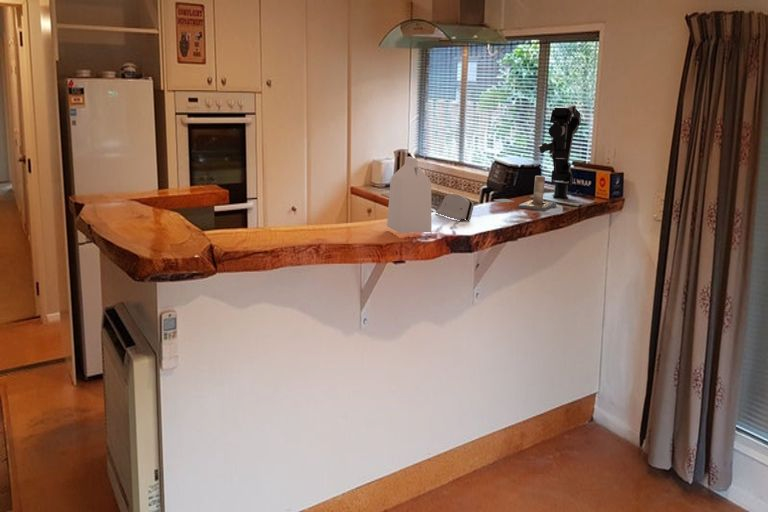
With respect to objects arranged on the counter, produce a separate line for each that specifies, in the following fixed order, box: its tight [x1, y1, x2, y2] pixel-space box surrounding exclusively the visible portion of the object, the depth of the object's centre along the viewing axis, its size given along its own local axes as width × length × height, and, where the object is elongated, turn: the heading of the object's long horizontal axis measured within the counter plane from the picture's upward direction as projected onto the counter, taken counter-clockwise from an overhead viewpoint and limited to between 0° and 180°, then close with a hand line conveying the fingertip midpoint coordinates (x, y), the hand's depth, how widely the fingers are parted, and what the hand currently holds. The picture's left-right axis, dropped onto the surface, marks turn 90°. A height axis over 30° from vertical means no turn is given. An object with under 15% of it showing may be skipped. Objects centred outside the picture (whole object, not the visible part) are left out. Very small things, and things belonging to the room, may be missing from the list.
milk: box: [386, 156, 432, 233], centre depth 231 cm, size 12×12×26 cm
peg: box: [532, 175, 546, 205], centre depth 287 cm, size 4×4×13 cm
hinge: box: [435, 193, 475, 221], centre depth 263 cm, size 17×5×10 cm, turn 29°
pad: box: [494, 198, 516, 203], centre depth 301 cm, size 7×7×1 cm
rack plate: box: [518, 199, 557, 212], centre depth 289 cm, size 16×11×2 cm
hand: (556, 172), depth 299 cm, fingers open, 9 cm apart
